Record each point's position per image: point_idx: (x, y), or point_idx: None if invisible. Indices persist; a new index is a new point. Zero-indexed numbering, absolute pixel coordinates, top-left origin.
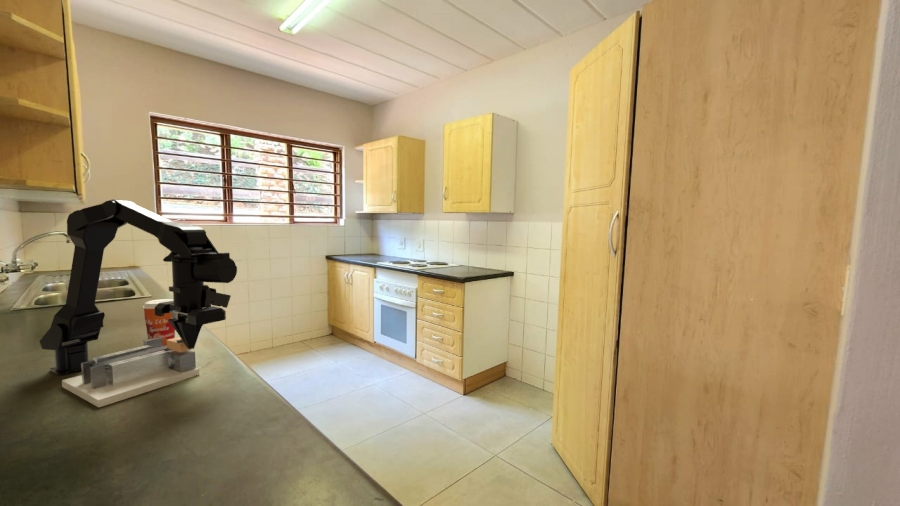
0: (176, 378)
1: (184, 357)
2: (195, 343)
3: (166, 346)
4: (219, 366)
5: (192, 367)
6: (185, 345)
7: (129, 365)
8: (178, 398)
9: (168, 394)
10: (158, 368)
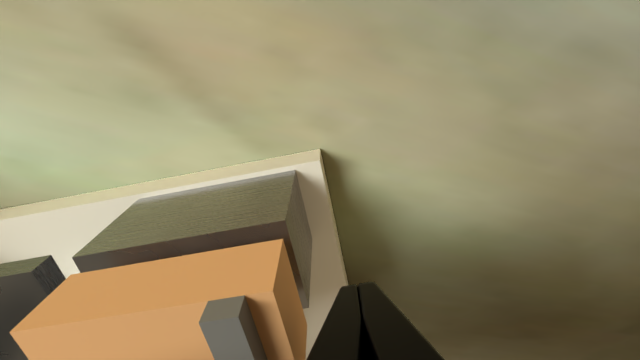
0: (340, 252)
1: (302, 270)
2: (394, 304)
3: (13, 325)
4: (258, 18)
5: (297, 189)
6: (293, 330)
7: None
8: (534, 276)
9: (455, 289)
10: None
